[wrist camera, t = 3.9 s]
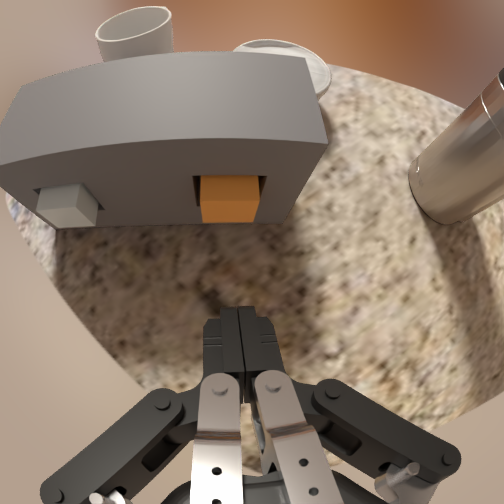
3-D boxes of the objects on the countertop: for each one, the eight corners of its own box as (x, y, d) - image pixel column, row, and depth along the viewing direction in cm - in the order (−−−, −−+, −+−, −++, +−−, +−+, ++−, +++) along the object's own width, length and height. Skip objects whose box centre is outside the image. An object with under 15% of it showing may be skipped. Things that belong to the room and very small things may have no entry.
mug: (164, 135, 27) (145, 41, 15) (112, 125, 27) (79, 43, 15) (199, 77, 30) (199, -5, 18) (152, 70, 29) (140, -5, 18)
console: (275, 150, 28) (305, 57, 16) (282, 223, 25) (328, 143, 14) (70, 160, 25) (21, 86, 13) (55, 229, 23) (-19, 170, 11)
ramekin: (295, 66, 32) (304, 37, 27) (335, 123, 30) (351, 93, 25) (214, 75, 30) (215, 42, 25) (244, 139, 28) (249, 104, 23)
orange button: (250, 180, 22) (256, 153, 18) (252, 222, 21) (259, 200, 17) (203, 180, 21) (201, 153, 18) (202, 222, 20) (199, 201, 17)
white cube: (101, 185, 20) (85, 161, 17) (95, 226, 19) (75, 207, 16) (65, 189, 20) (46, 167, 16) (58, 228, 19) (35, 210, 15)
